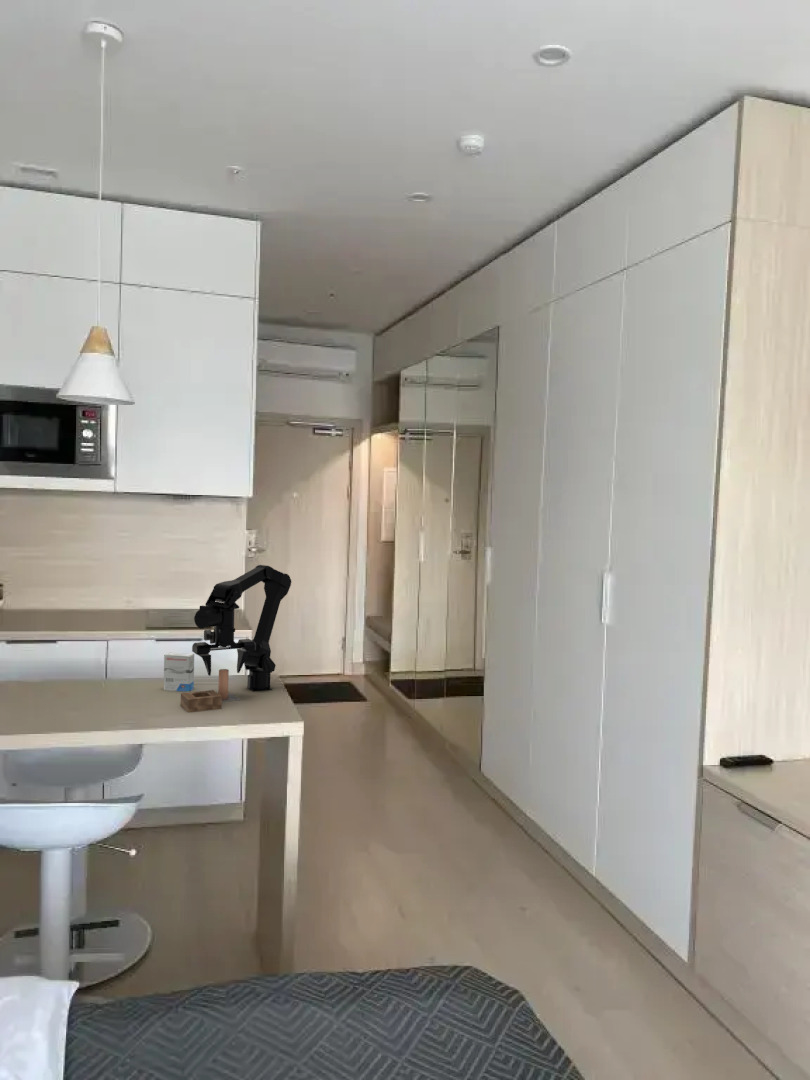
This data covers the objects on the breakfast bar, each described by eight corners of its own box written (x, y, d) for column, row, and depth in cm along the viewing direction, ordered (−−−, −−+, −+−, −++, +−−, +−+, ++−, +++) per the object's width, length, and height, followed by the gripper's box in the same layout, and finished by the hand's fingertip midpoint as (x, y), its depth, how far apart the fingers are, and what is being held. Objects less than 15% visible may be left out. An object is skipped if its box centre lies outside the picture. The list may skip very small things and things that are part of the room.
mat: (232, 694, 266) (232, 693, 266) (240, 700, 259) (240, 699, 259) (207, 697, 262) (207, 696, 262) (215, 703, 255) (215, 702, 255)
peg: (226, 697, 262) (226, 668, 261) (229, 699, 259) (229, 670, 259) (216, 698, 260) (217, 669, 260) (219, 700, 258) (220, 671, 257)
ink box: (194, 688, 272) (195, 653, 271) (189, 692, 267) (189, 656, 266) (169, 687, 273) (169, 651, 272) (163, 691, 268) (163, 654, 267)
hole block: (213, 702, 256) (213, 690, 255) (221, 709, 249) (221, 696, 249) (180, 706, 251) (180, 693, 250) (188, 713, 244) (188, 699, 243)
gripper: (244, 618, 270) (243, 666, 271) (187, 621, 260) (186, 671, 262) (257, 624, 260) (256, 673, 262) (198, 627, 251) (197, 679, 252)
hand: (223, 674), depth 259 cm, fingers open, 9 cm apart
